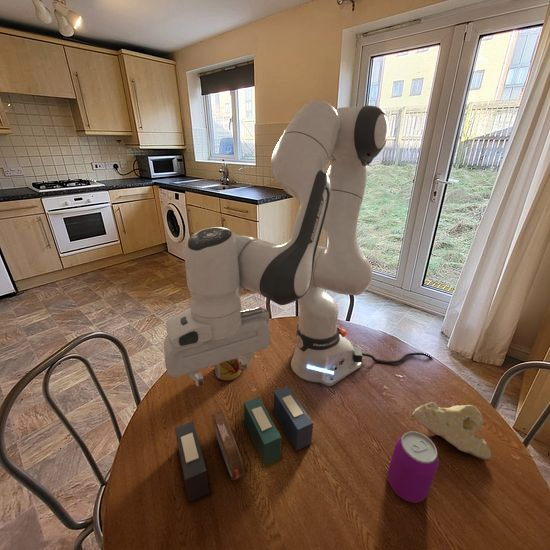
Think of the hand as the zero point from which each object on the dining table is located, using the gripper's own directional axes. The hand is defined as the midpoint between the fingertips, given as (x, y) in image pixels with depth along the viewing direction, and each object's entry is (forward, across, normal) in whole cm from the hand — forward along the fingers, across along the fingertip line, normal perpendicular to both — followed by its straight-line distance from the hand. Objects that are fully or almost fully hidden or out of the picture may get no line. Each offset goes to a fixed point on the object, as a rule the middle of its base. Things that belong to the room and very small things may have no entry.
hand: (222, 375), depth 59 cm
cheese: (+22, -46, +22) cm, 55 cm away
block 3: (+21, -15, +3) cm, 26 cm away
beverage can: (+21, -30, +25) cm, 44 cm away
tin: (+21, +1, +3) cm, 21 cm away
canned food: (+21, -7, -22) cm, 32 cm away
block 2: (+21, -7, +3) cm, 22 cm away
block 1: (+20, +9, +2) cm, 22 cm away
